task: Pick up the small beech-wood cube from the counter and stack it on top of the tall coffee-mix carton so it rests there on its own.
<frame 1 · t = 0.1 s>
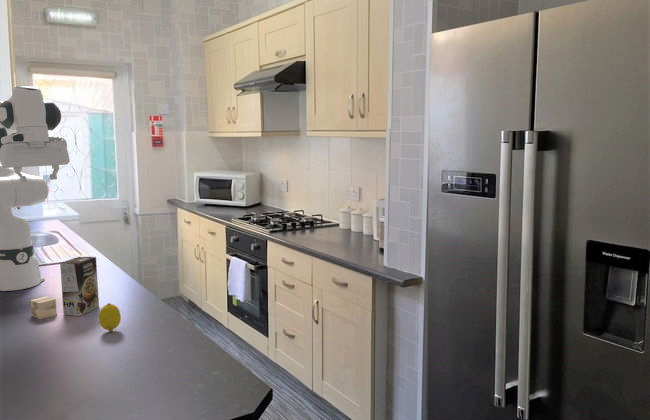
hand: (38, 180, 176), 39 cm above the countertop, tool pointing down, fingers open, 8 cm apart
beech cube: (44, 315, 164), on the countertop
lemon: (110, 332, 151), on the countertop
coffee box: (82, 311, 168), on the countertop
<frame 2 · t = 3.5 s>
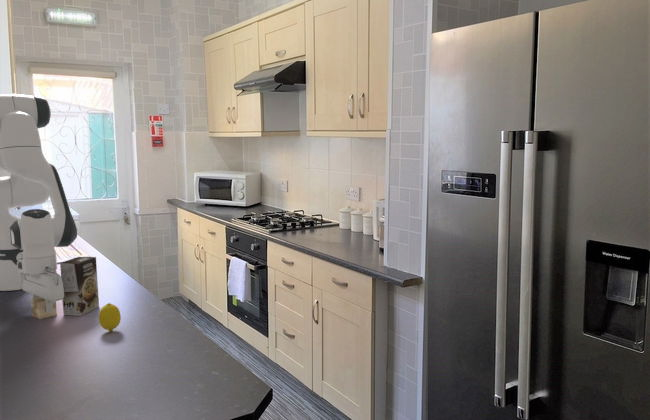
hand: (43, 310, 164), 2 cm above the countertop, tool pointing down, fingers closed on beech cube, 5 cm apart
beech cube: (44, 315, 164), on the countertop, touching gripper
everything else where it was.
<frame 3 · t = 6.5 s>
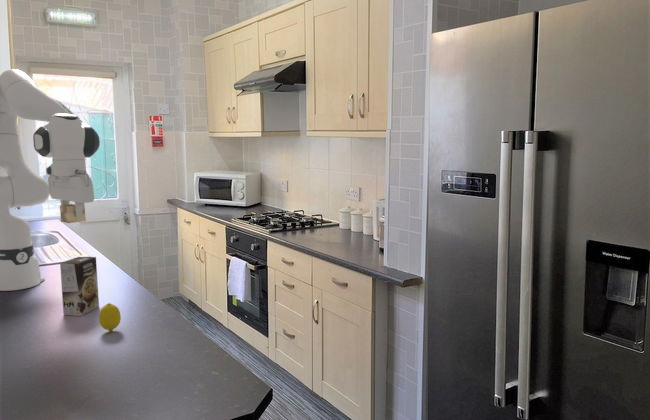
hand: (73, 215, 163), 29 cm above the countertop, tool pointing down, fingers closed on beech cube, 5 cm apart
beech cube: (73, 221, 164), point 28 cm above the countertop, touching gripper
everything else where it was.
when the fingers open (19 cm above the countertop, at t = 9.5 s): beech cube drops 1 cm, resting on coffee box.
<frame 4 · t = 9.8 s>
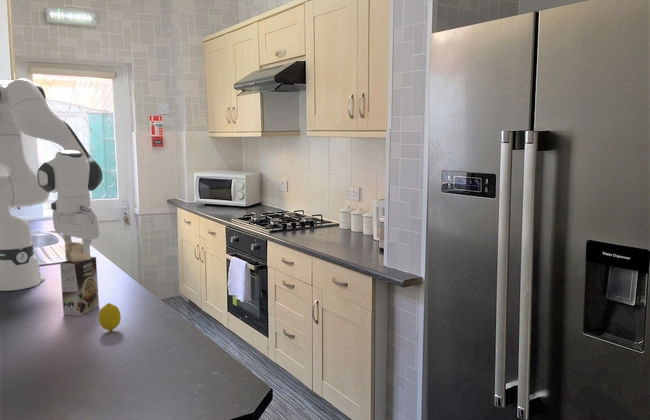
hand: (77, 250, 165), 19 cm above the countertop, tool pointing down, fingers open, 8 cm apart
beech cube: (78, 259, 166), point 16 cm above the countertop, touching coffee box
coffee box: (82, 311, 168), on the countertop, touching beech cube
everything else where it was.
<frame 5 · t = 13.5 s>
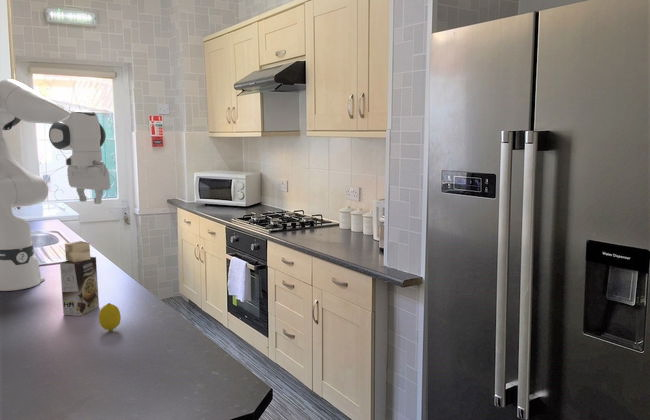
hand: (90, 202, 181), 31 cm above the countertop, tool pointing down, fingers open, 8 cm apart
nothing on the countertop moved.
at the end: beech cube point 16.1 cm above the countertop; beech cube 0.0 cm from the coffee box (horizontally); coffee box tilted 0° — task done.
